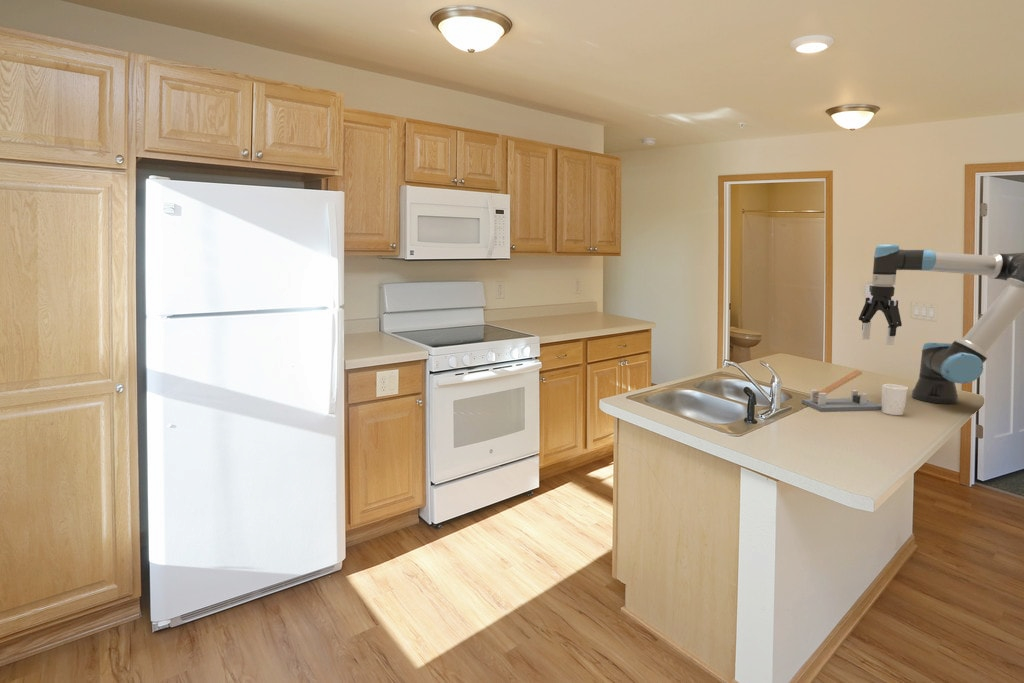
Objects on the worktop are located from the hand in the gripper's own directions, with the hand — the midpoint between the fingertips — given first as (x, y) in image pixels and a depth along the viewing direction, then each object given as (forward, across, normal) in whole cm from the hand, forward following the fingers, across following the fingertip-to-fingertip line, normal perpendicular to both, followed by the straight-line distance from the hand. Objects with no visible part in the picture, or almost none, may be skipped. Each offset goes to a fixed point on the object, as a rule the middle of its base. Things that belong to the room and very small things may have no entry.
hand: (877, 342), depth 223 cm
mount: (+24, +4, -15) cm, 29 cm away
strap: (+16, +4, -17) cm, 24 cm away
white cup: (+24, +14, -2) cm, 28 cm away
